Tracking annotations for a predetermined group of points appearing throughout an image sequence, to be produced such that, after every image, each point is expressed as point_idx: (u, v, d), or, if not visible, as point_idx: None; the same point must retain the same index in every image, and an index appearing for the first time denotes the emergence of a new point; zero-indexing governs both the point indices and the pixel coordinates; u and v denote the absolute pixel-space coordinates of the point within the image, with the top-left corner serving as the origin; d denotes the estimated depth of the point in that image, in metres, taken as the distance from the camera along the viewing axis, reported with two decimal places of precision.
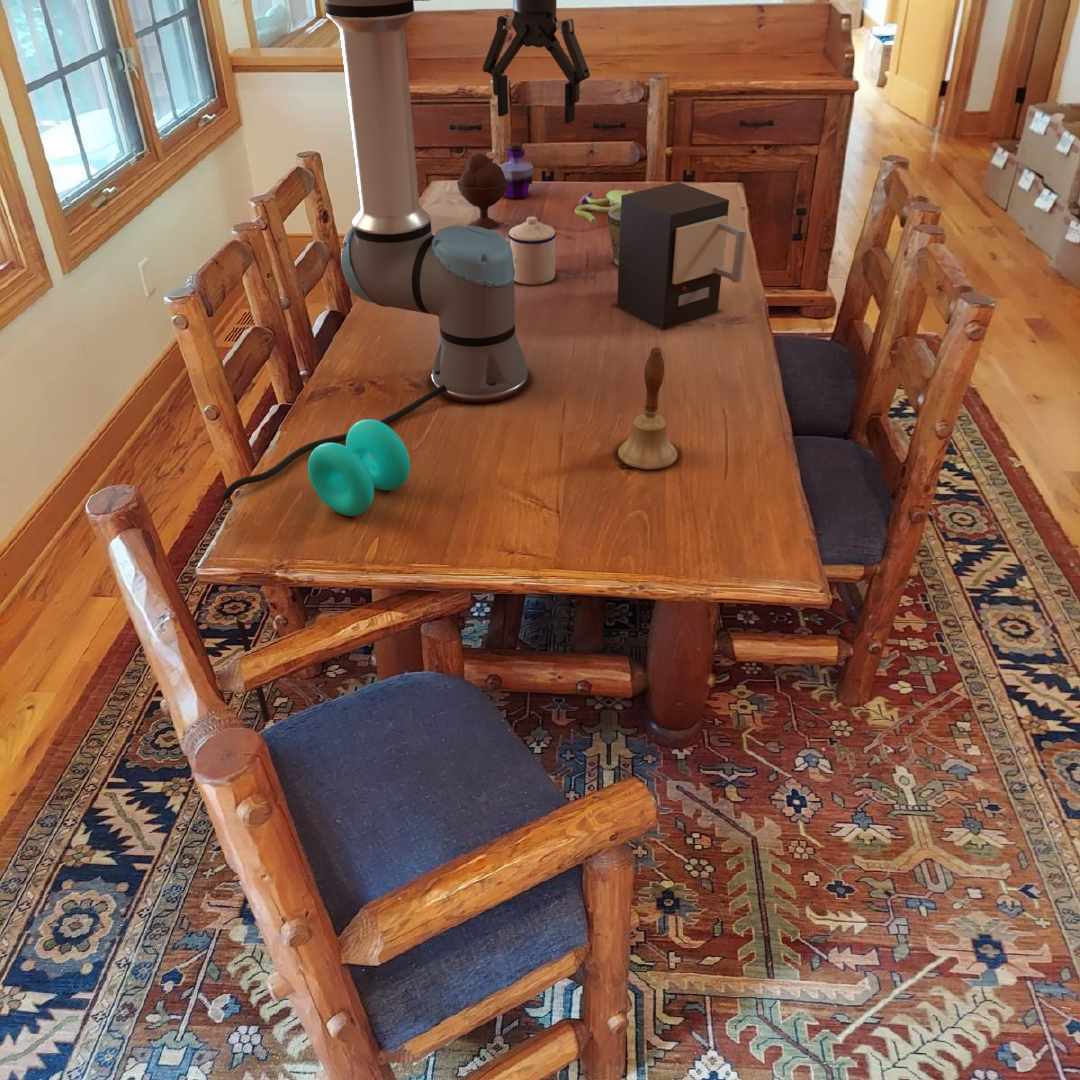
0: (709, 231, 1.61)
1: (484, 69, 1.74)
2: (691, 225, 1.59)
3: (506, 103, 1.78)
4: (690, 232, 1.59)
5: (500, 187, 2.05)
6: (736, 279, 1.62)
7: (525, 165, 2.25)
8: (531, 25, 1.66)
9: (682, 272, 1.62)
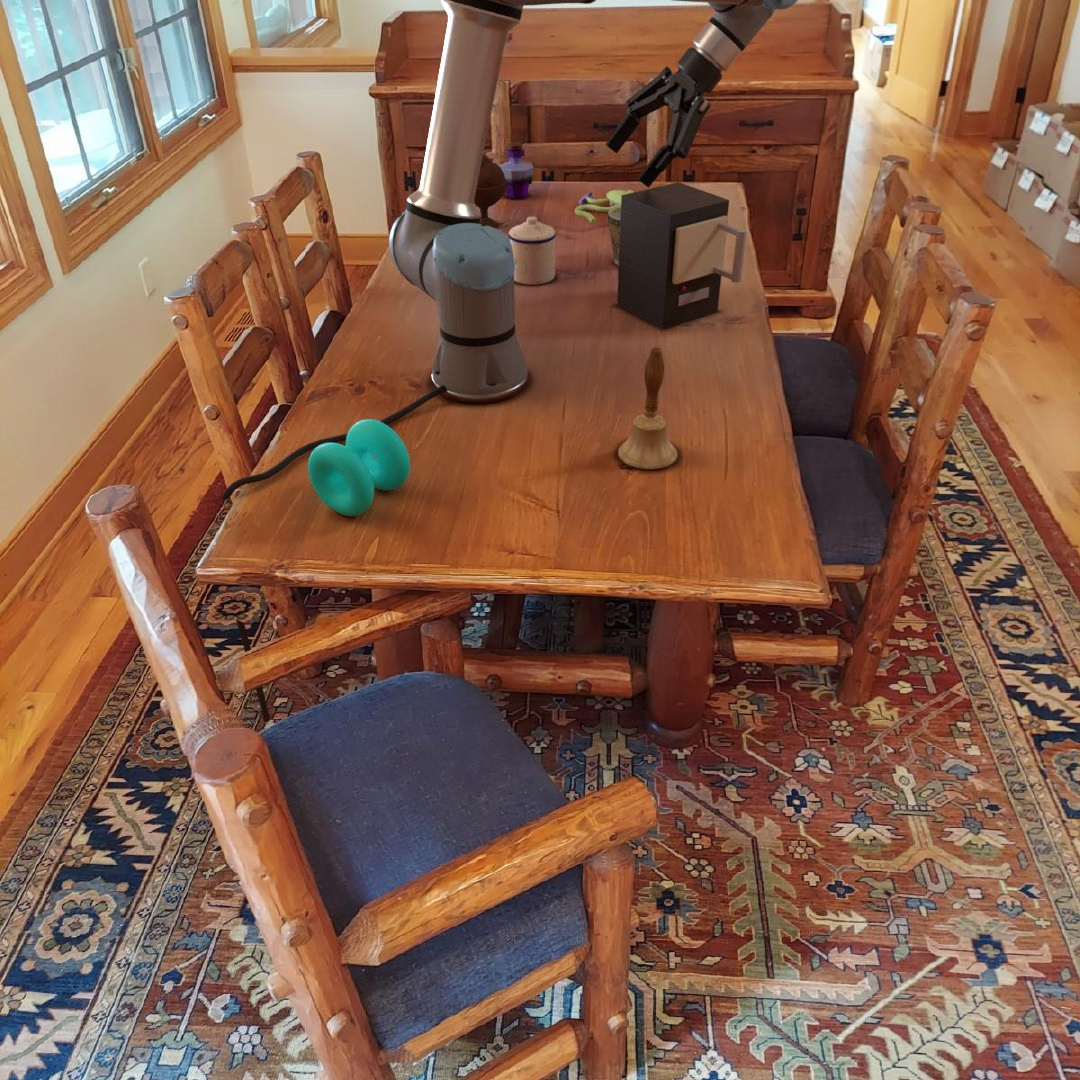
0: (709, 231, 1.61)
1: (626, 102, 1.72)
2: (691, 225, 1.59)
3: (621, 143, 1.74)
4: (690, 232, 1.59)
5: (500, 187, 2.05)
6: (736, 279, 1.62)
7: (525, 165, 2.25)
8: (680, 86, 1.63)
9: (682, 272, 1.62)
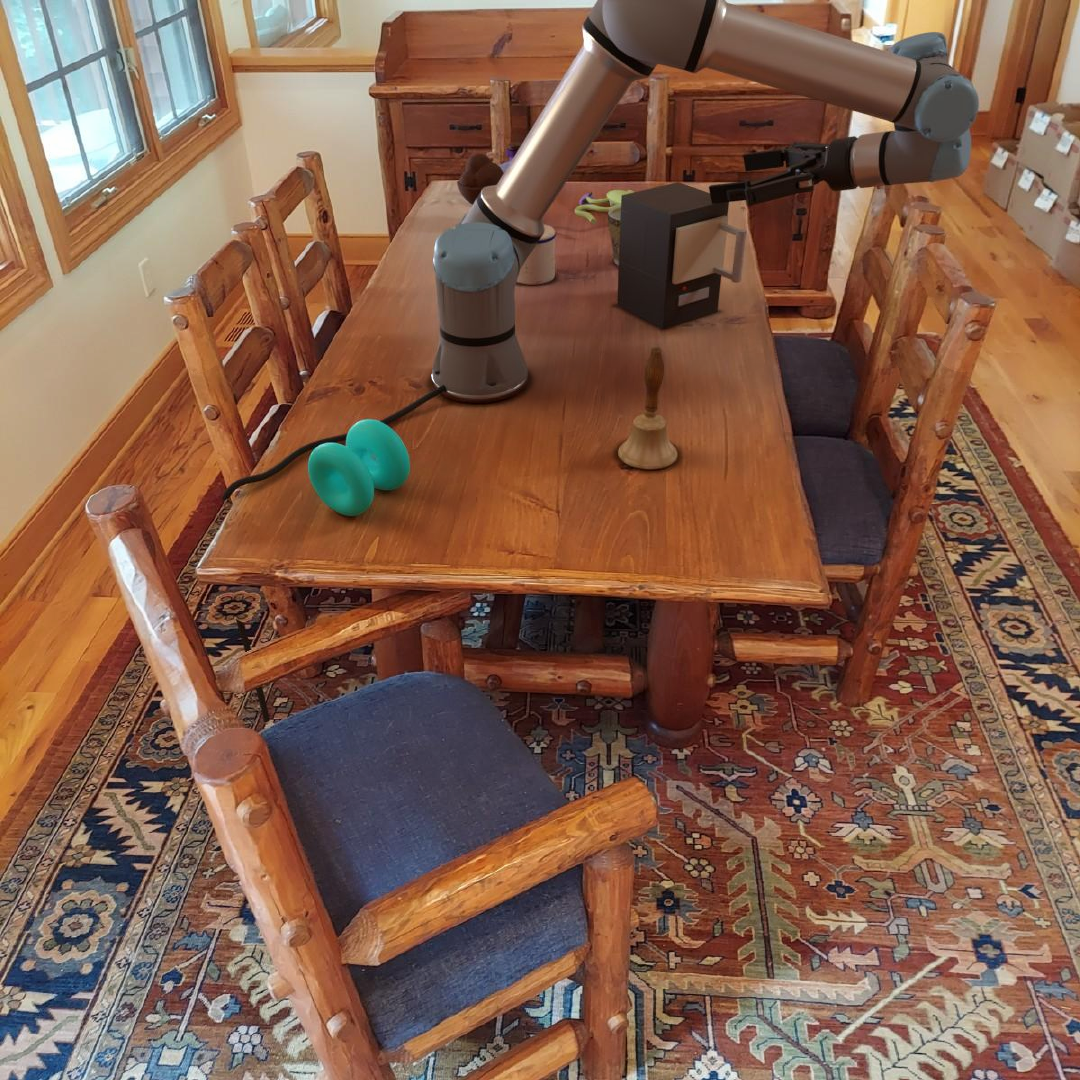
0: (709, 231, 1.61)
1: (794, 142, 1.57)
2: (691, 225, 1.59)
3: (755, 166, 1.60)
4: (690, 232, 1.59)
5: None
6: (736, 279, 1.62)
7: None
8: (819, 159, 1.47)
9: (682, 272, 1.62)
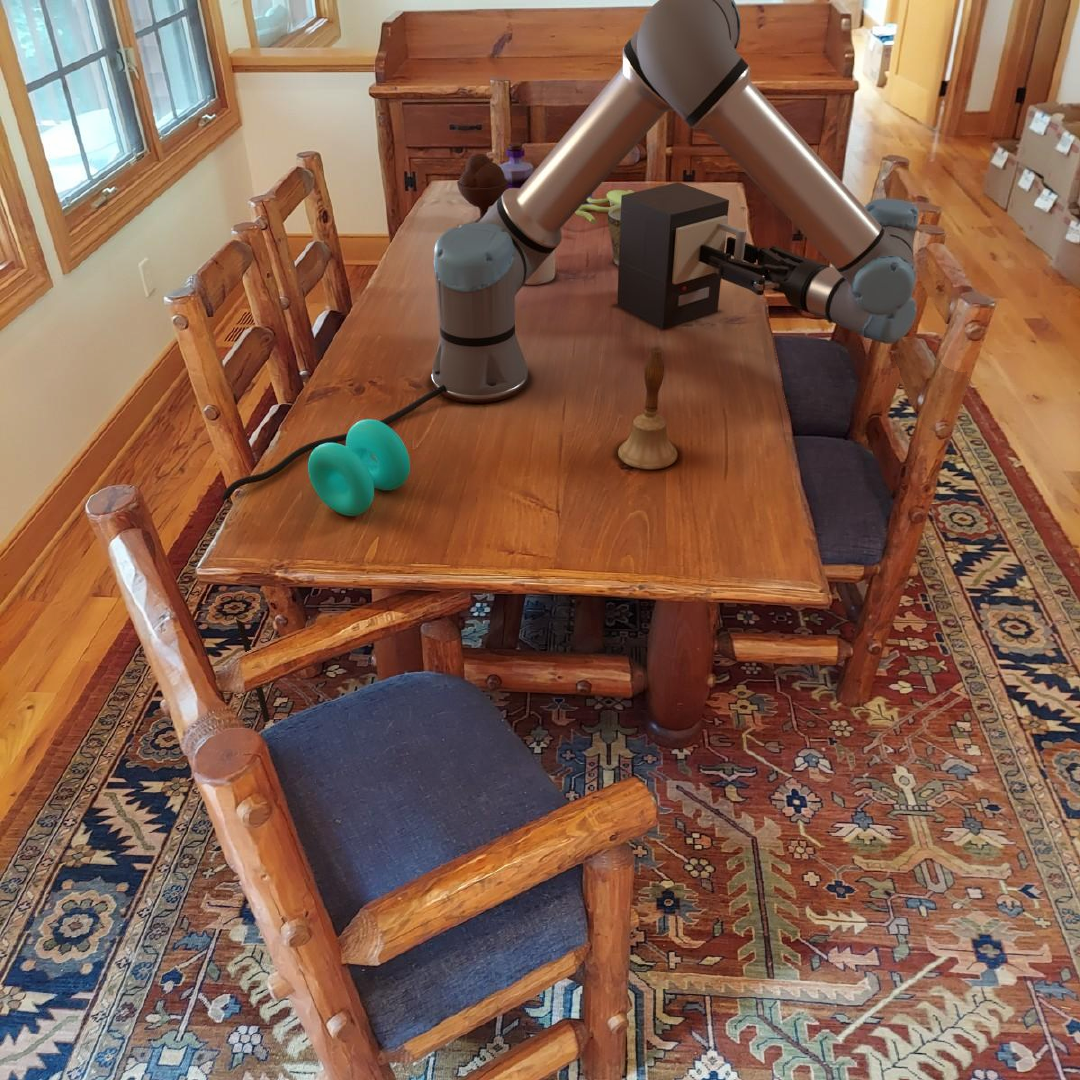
0: (709, 231, 1.61)
1: (773, 246, 1.61)
2: (691, 225, 1.59)
3: (733, 252, 1.64)
4: (690, 232, 1.59)
5: (500, 187, 2.05)
6: None
7: (525, 165, 2.25)
8: None
9: (682, 272, 1.62)
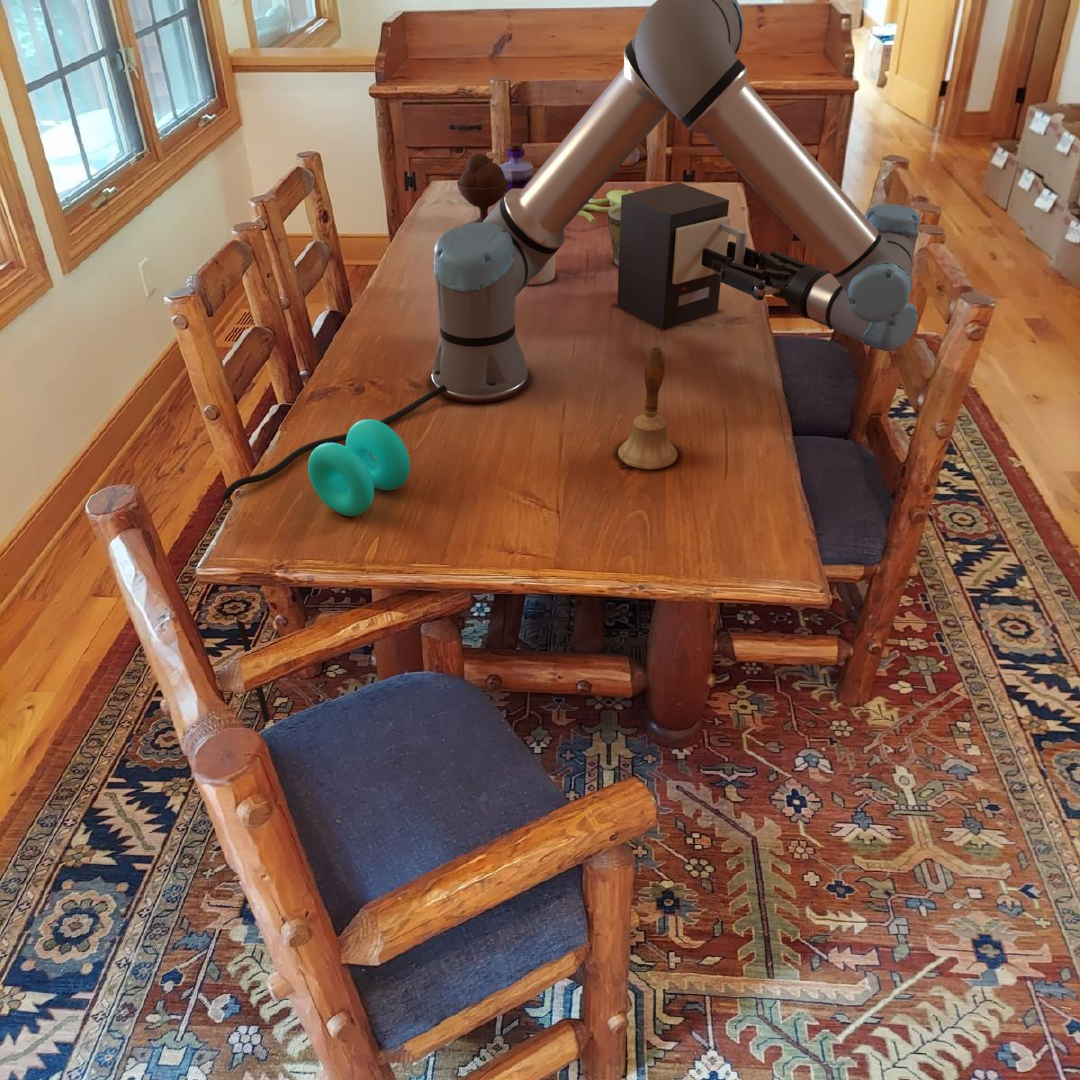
0: (711, 232, 1.61)
1: (773, 251, 1.59)
2: (691, 225, 1.59)
3: (734, 257, 1.62)
4: (691, 232, 1.59)
5: (500, 187, 2.05)
6: None
7: (525, 165, 2.25)
8: None
9: (682, 272, 1.62)
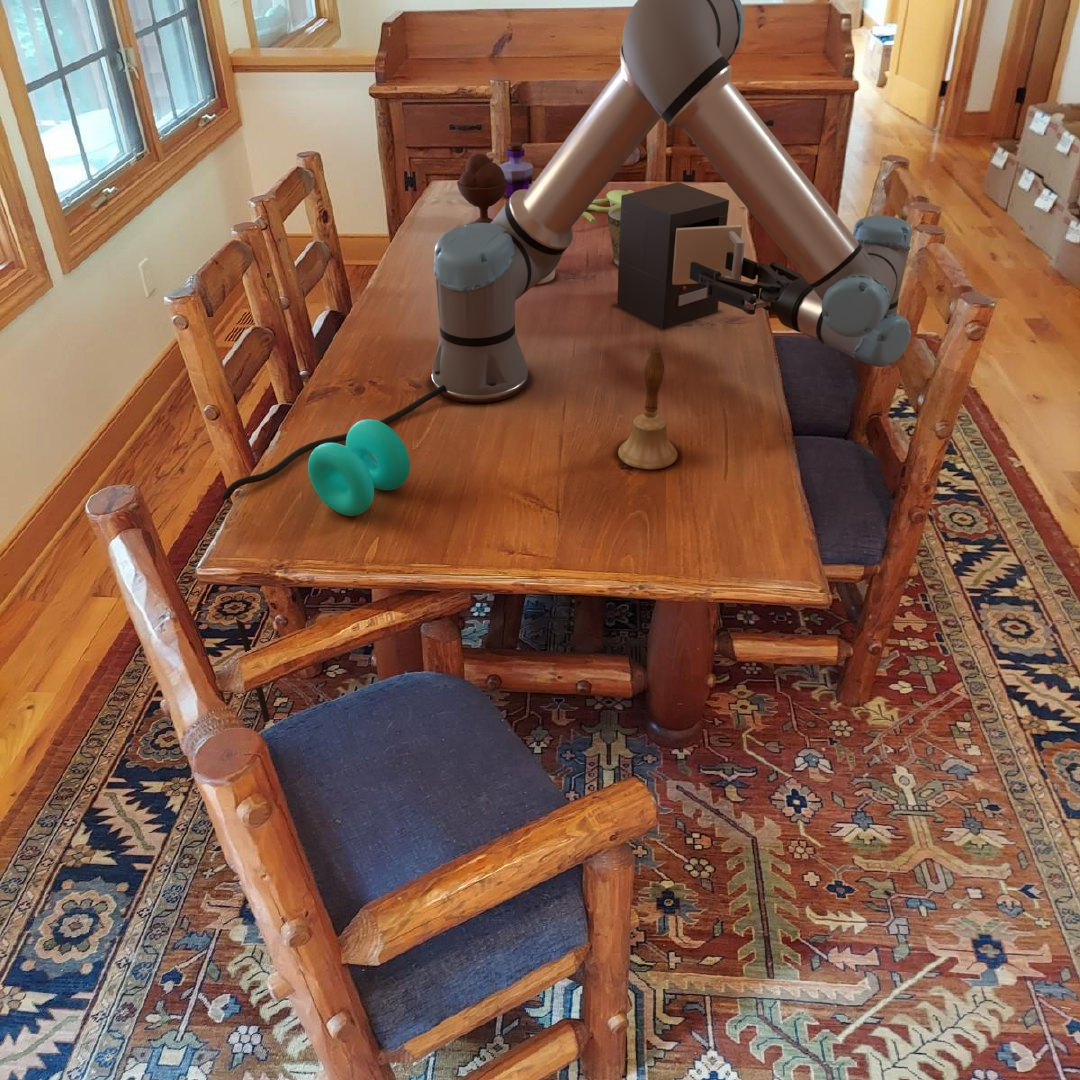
0: (717, 238, 1.59)
1: (773, 262, 1.55)
2: (694, 228, 1.57)
3: None
4: (692, 235, 1.58)
5: (500, 187, 2.05)
6: None
7: (525, 165, 2.25)
8: None
9: (681, 273, 1.62)
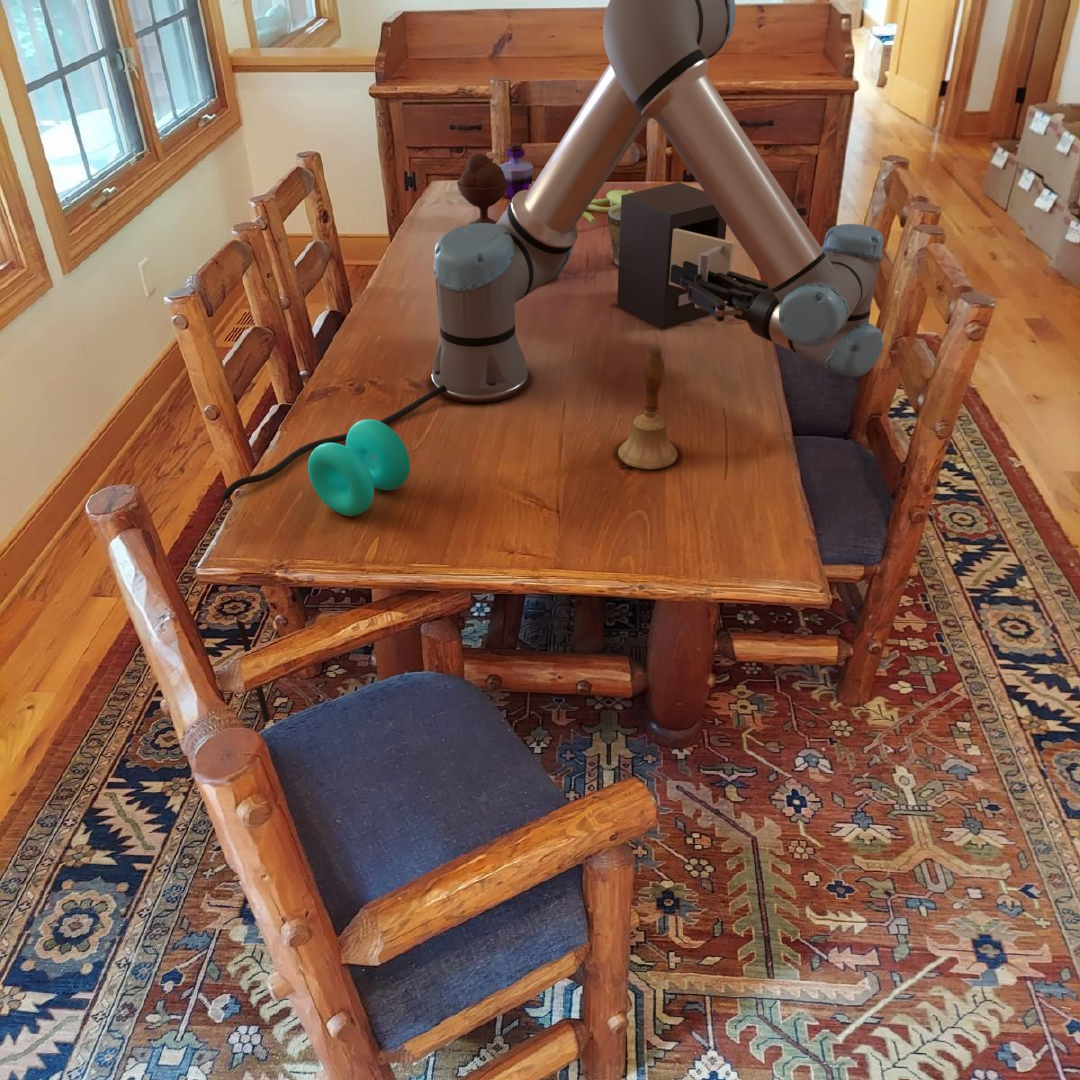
0: (708, 249, 1.55)
1: (730, 271, 1.52)
2: (689, 232, 1.56)
3: None
4: (686, 239, 1.56)
5: (500, 187, 2.05)
6: None
7: (525, 165, 2.25)
8: None
9: None
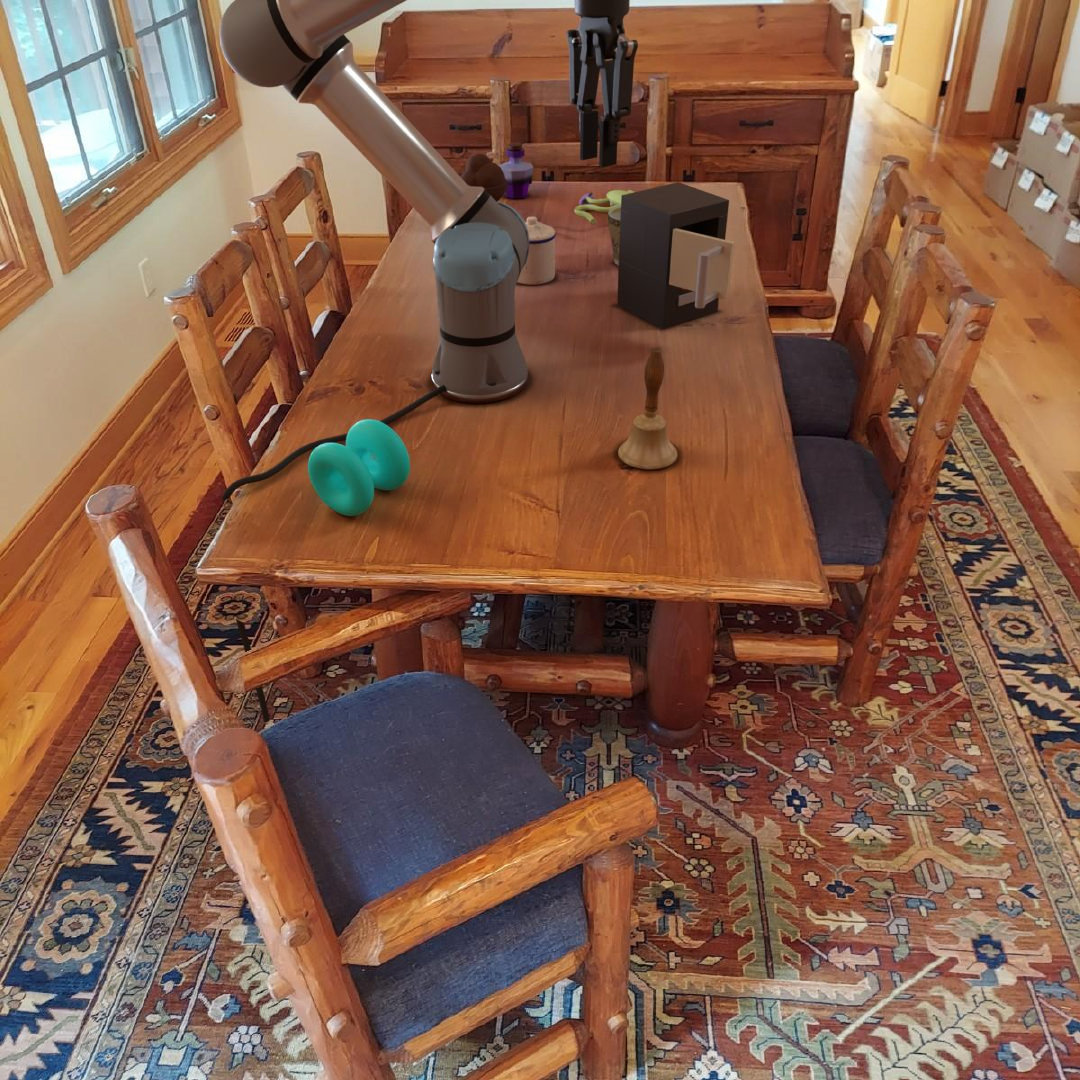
0: (708, 249, 1.55)
1: (571, 102, 1.42)
2: (689, 232, 1.56)
3: (594, 145, 1.44)
4: (686, 239, 1.56)
5: (500, 187, 2.05)
6: (695, 303, 1.54)
7: (525, 165, 2.25)
8: (593, 19, 1.32)
9: (676, 275, 1.61)
